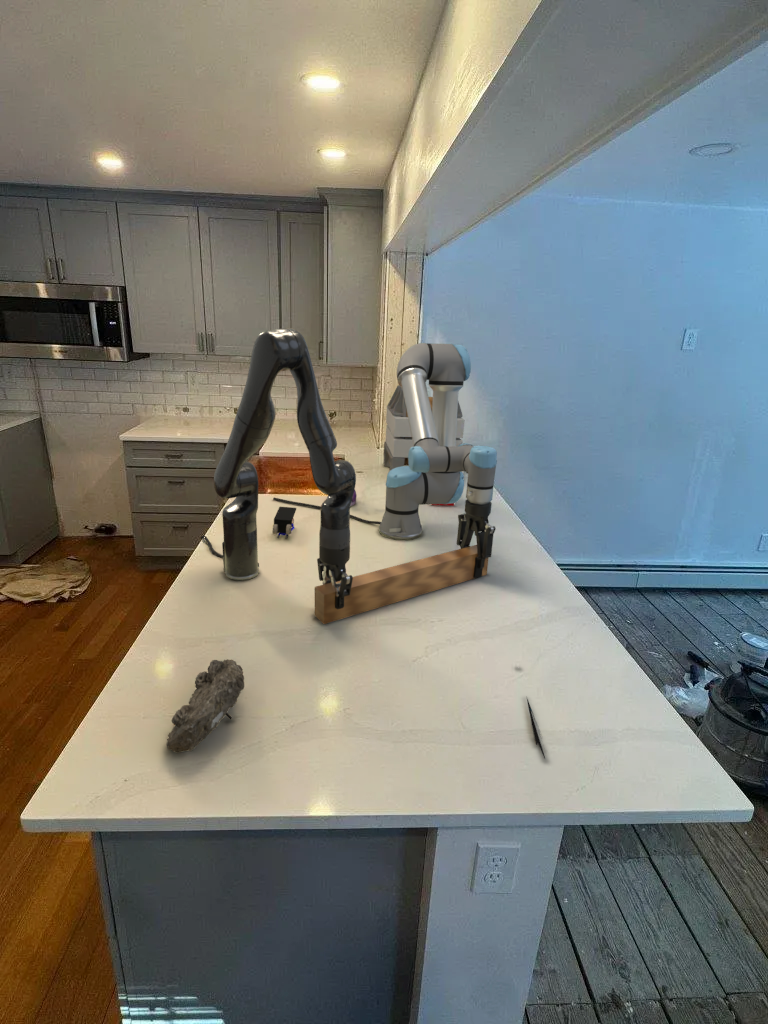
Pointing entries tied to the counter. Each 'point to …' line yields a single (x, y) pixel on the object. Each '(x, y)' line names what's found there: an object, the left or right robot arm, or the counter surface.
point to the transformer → (405, 431)
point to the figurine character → (284, 521)
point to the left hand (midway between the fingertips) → (333, 603)
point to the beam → (398, 583)
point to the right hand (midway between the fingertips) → (471, 573)
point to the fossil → (206, 705)
